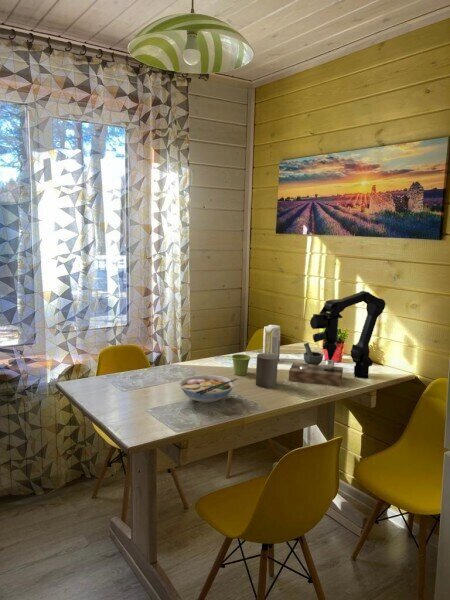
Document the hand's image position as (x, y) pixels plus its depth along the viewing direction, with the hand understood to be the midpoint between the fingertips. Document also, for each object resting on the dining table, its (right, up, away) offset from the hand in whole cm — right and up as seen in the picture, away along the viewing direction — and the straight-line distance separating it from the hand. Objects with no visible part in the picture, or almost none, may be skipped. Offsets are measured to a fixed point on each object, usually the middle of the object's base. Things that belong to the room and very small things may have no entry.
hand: (329, 359), depth 238 cm
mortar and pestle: (-5, -7, +23) cm, 25 cm away
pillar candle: (-31, -11, -7) cm, 33 cm away
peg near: (0, -5, +1) cm, 5 cm away
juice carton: (-25, -5, +33) cm, 41 cm away
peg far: (-12, -9, +4) cm, 15 cm away
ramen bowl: (-57, -14, -28) cm, 65 cm away
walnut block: (-6, -9, +3) cm, 12 cm away
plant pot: (-42, -8, +8) cm, 43 cm away
